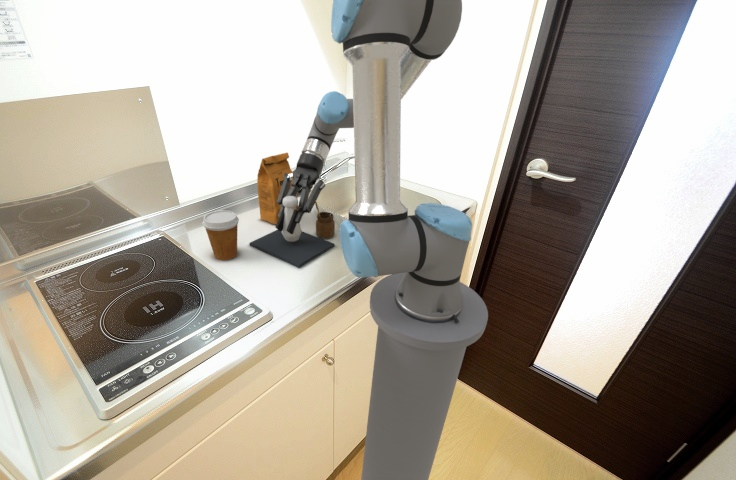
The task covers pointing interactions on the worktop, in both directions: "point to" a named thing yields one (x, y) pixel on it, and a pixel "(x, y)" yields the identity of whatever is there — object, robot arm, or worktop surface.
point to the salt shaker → (290, 206)
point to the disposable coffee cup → (222, 233)
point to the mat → (292, 247)
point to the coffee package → (272, 185)
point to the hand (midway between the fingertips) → (284, 230)
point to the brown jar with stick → (325, 224)
